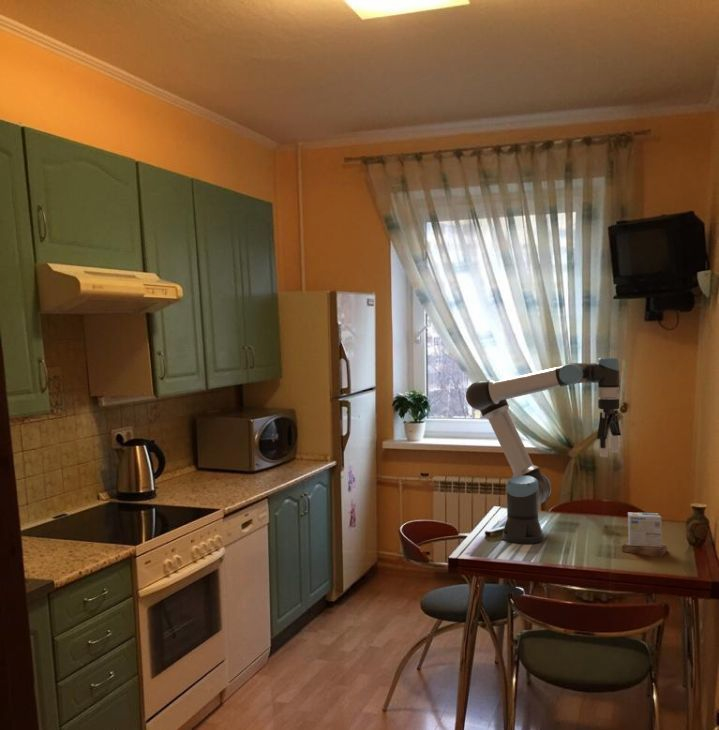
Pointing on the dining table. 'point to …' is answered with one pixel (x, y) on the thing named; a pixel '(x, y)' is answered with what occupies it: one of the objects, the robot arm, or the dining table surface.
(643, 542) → the light bulb box
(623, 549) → the brown flat tray
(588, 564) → the dining table surface
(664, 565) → the dining table surface
